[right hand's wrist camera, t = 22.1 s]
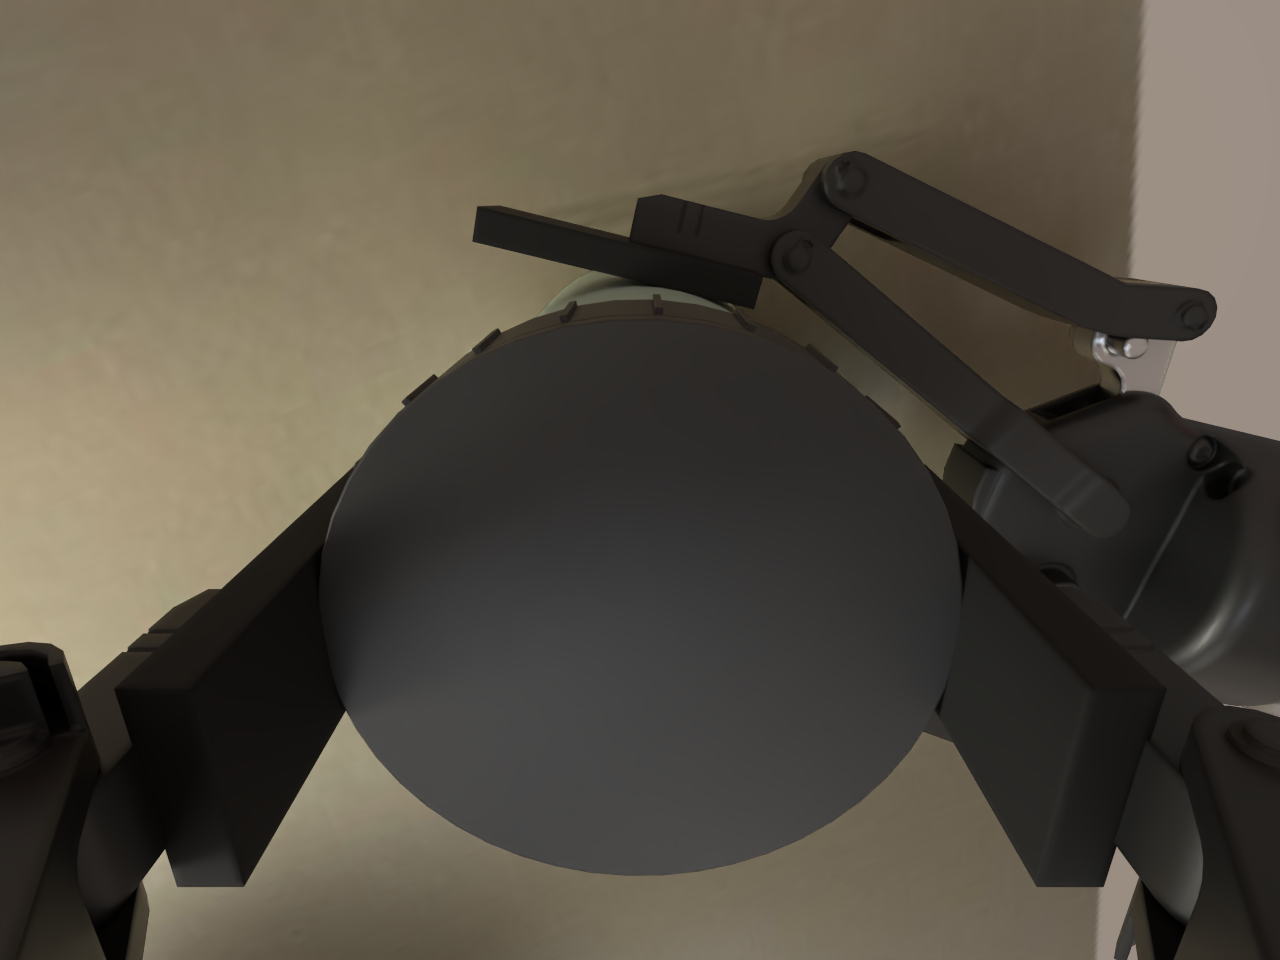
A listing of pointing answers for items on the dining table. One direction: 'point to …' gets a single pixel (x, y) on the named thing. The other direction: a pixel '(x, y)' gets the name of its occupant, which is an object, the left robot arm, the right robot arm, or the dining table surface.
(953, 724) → the right robot arm
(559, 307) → the jar
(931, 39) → the dining table surface
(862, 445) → the lid
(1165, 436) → the left robot arm
